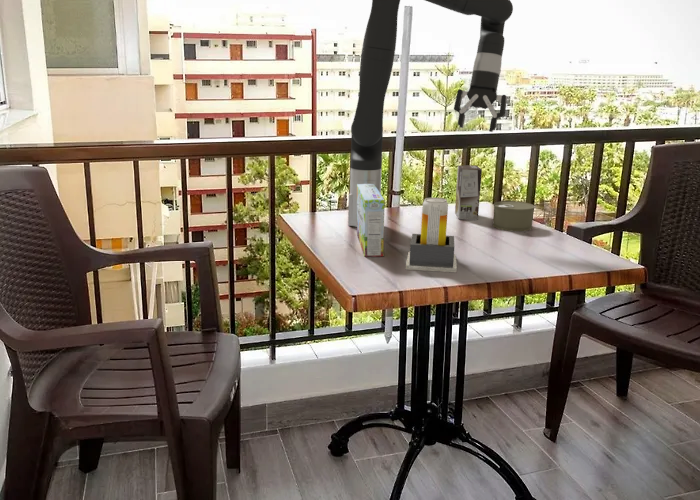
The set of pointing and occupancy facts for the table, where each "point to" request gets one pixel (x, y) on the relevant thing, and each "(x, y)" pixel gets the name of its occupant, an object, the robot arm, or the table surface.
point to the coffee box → (468, 192)
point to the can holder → (431, 255)
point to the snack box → (370, 220)
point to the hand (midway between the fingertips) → (475, 129)
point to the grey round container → (513, 216)
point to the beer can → (434, 221)
